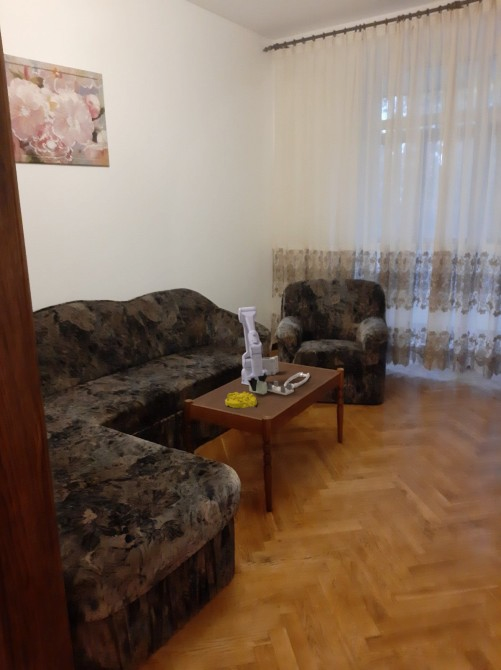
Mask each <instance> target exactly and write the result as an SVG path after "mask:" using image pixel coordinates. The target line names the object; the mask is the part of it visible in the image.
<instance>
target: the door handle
mask: <svg viewBox="0 0 501 670" xmlns="http://www.w3.org/2000/svg"><path fill="white" fill-rule="evenodd" d="M300 377H301V378H304V379H302V380H301V381H299V382H294V383H290V382H291V381H293V380H294V379H297V378H300ZM309 378H310V372H307V373H304V372H303V371H302V372H297V373H296V374H294V375H291V376H290V377H289V378H288V379H287V380H286V381H285V382H284V384H283V387H285V388H287V384H291V389H293V390H294V389H296V388H299V387H300V386H302V385H303V384H305V383H306V382H307V381H308V379H309Z"/></svg>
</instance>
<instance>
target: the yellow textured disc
mask: <svg viewBox="0 0 501 670" xmlns="http://www.w3.org/2000/svg"><path fill="white" fill-rule="evenodd" d="M224 402H225V406H226V407H227V406H229V407H230V408H233V409H245V408H250V407H256V405H258V400H257V397H256V396H255V395H254V394H253V393H250V392H246V391H243V392H240V393H239V392H238V391H235V392H232V393H231V392H229V393H228V394H227V395H226V399H224Z"/></svg>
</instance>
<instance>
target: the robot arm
mask: <svg viewBox="0 0 501 670" xmlns="http://www.w3.org/2000/svg"><path fill="white" fill-rule="evenodd" d="M257 313H258V310H257V307H256V306H255V305H254V306H245V307H239V308H238V309H237V314H238V321H239V323H241V324H242V327H243V334H244V343H245V350H246V352H244V353H243V354H242V356H241V362H242V370H241V382H240V384H242V385H246V386H249V383H250V385H251V388H252V391H256V384H257V380H258V381H262V382H266V379H267V378H268V375H265V374H267V370H262V358H263V357H262V354H263V351H264V350H263V349H264V348H263V344H262V342H261V340H260V336H259V333H258V331H256V325H255V322H256V319H257V315H258V314H257ZM252 391H251V392H252Z"/></svg>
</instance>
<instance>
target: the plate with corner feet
mask: <svg viewBox="0 0 501 670" xmlns="http://www.w3.org/2000/svg"><path fill="white" fill-rule="evenodd" d="M291 384H292V383H290V384H289V383H288V384H287V387H286V388H285V387H284V385H282V386H279V381H278V380H273V383H269V382H268V383H267V392H271V393H274V394H278V395H284V396H287V395H289V394H292V393H294V392H295V391H294V388H293V389H291V388H292V387H291Z"/></svg>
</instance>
